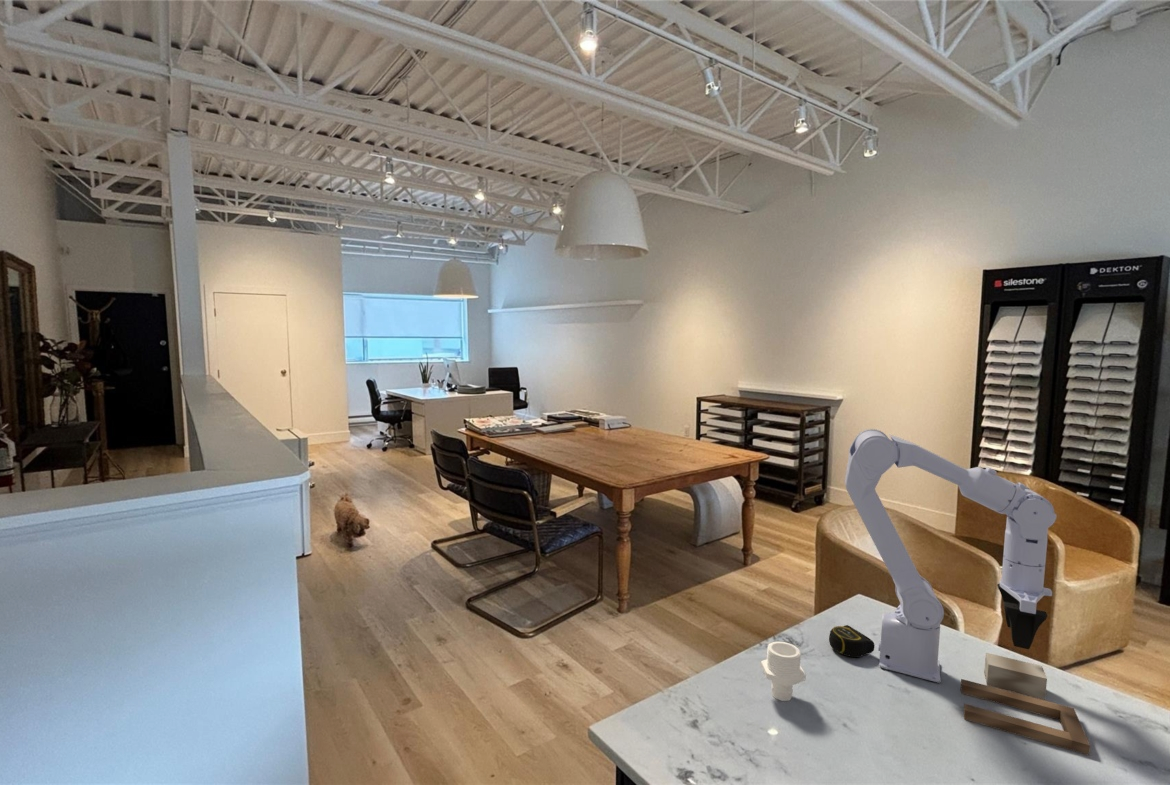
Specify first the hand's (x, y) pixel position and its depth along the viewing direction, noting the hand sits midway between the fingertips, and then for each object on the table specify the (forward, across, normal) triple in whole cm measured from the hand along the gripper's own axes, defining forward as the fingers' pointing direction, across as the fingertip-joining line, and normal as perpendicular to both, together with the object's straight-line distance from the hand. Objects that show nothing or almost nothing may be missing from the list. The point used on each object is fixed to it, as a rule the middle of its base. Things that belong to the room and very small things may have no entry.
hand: (1017, 637), depth 98 cm
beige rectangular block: (+9, 0, 0) cm, 9 cm away
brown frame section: (+9, -10, +1) cm, 14 cm away
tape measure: (+9, -2, +26) cm, 28 cm away
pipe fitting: (+9, -24, +34) cm, 43 cm away
